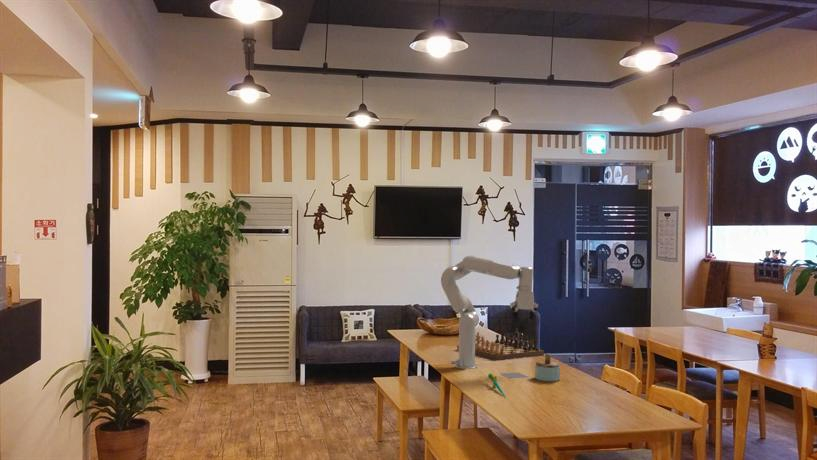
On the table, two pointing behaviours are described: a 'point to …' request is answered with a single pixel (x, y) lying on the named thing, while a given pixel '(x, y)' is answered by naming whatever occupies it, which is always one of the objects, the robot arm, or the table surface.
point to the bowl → (547, 373)
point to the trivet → (513, 375)
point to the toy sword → (495, 383)
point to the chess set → (506, 347)
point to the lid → (547, 362)
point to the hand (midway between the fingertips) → (523, 318)
